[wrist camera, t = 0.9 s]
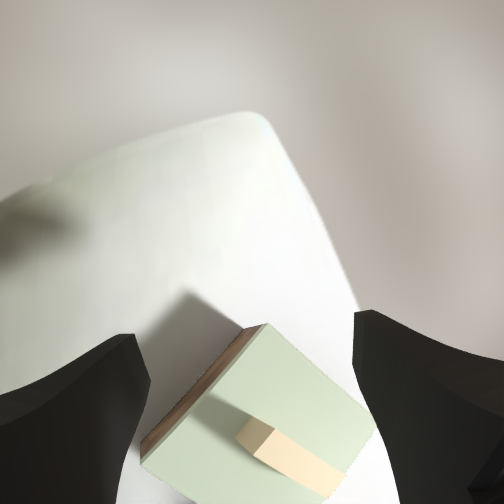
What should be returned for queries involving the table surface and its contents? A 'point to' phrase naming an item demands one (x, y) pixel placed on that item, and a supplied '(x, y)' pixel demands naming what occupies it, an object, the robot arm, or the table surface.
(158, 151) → the table surface
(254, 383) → the lid
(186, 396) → the wooden open box
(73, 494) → the robot arm
